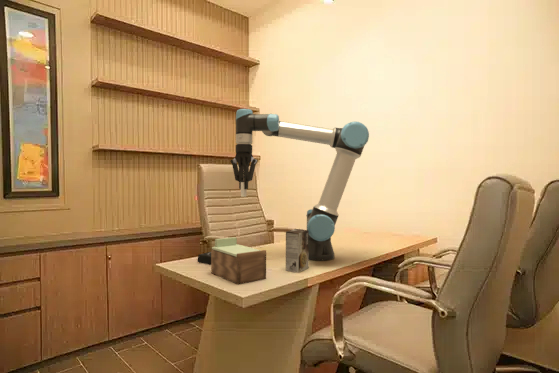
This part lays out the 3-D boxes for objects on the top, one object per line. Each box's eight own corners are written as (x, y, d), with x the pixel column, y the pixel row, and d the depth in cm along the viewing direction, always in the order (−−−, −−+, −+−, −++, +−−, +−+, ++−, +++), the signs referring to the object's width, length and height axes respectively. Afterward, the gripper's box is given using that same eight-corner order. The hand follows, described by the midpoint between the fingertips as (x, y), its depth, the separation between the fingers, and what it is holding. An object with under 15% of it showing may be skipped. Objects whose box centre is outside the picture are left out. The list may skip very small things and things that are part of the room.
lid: (263, 253, 129) (263, 242, 129) (236, 256, 122) (236, 246, 122) (237, 246, 143) (237, 236, 143) (211, 249, 136) (212, 239, 136)
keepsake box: (266, 278, 128) (266, 250, 128) (238, 284, 120) (238, 254, 120) (237, 268, 144) (237, 243, 144) (211, 272, 136) (211, 246, 136)
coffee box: (295, 266, 148) (295, 228, 148) (308, 268, 145) (309, 229, 145) (284, 270, 141) (285, 230, 140) (298, 272, 137) (299, 232, 137)
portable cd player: (222, 257, 168) (222, 248, 168) (250, 261, 159) (250, 252, 159) (197, 263, 154) (197, 254, 154) (226, 268, 145) (226, 259, 145)
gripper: (227, 143, 155) (226, 196, 155) (252, 142, 150) (252, 197, 150) (235, 145, 162) (235, 196, 162) (260, 144, 157) (260, 196, 157)
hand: (243, 196), depth 156 cm, fingers closed
